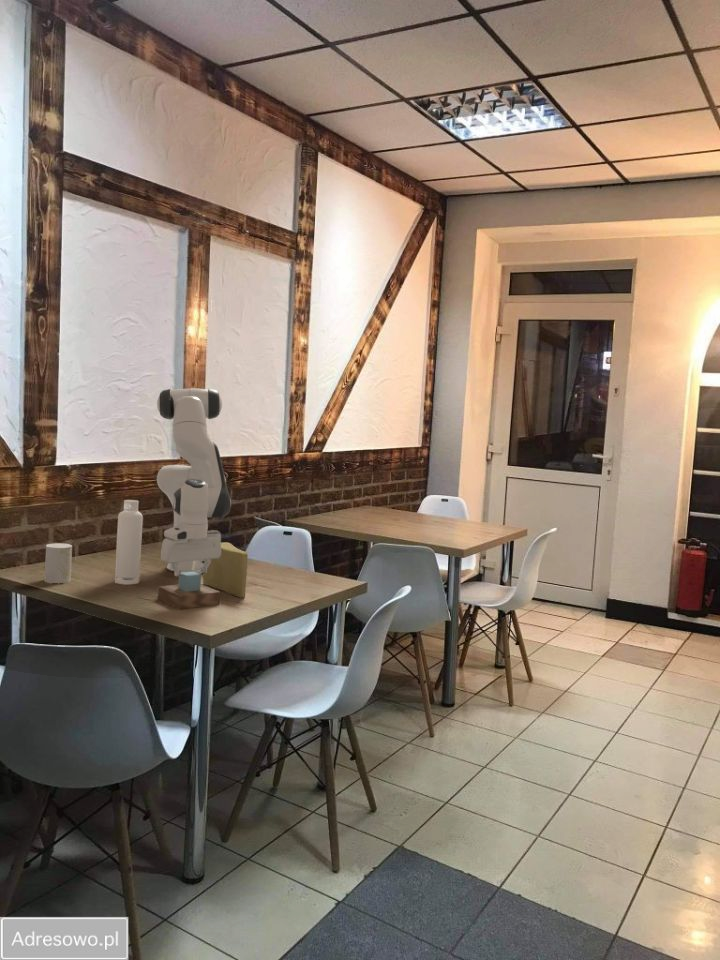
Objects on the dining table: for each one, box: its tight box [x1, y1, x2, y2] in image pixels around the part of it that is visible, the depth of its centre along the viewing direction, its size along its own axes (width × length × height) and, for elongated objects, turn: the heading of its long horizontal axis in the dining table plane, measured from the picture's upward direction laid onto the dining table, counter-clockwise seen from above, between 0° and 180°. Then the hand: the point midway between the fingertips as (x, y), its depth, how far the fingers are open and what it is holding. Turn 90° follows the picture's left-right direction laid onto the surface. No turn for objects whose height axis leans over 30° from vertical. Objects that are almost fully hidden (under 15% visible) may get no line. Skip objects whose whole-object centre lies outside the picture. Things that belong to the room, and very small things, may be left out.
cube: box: [177, 572, 202, 592], centre depth 251 cm, size 5×5×5 cm
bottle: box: [114, 499, 144, 585], centre depth 271 cm, size 8×8×28 cm
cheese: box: [202, 541, 248, 599], centre depth 270 cm, size 22×10×15 cm, turn 36°
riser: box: [157, 583, 221, 610], centre depth 252 cm, size 14×14×4 cm
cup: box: [44, 542, 73, 585], centre depth 265 cm, size 8×8×12 cm
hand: (190, 574), depth 252 cm, fingers open, 8 cm apart
